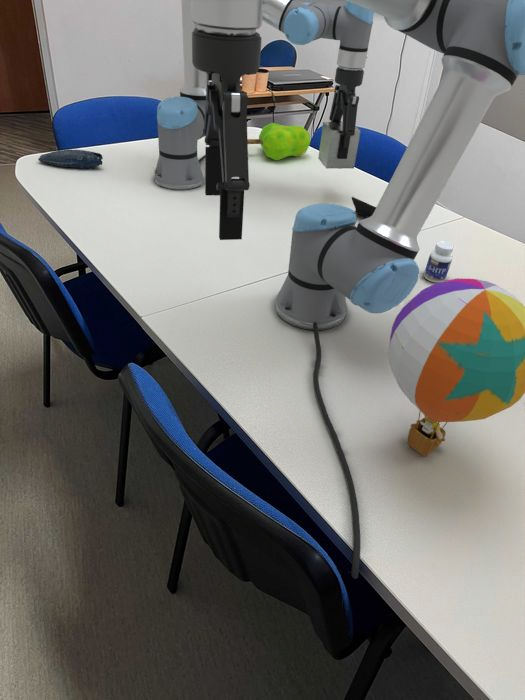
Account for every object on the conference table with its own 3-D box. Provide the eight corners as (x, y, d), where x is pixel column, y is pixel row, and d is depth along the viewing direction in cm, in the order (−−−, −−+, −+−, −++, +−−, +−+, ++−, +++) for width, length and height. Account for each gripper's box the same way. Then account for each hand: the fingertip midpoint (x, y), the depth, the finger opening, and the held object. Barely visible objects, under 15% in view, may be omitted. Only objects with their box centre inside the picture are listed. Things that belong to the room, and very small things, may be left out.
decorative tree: (225, 119, 187) (305, 119, 192) (225, 149, 194) (302, 148, 199) (232, 134, 173) (318, 133, 179) (232, 165, 180) (315, 164, 185)
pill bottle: (422, 279, 126) (432, 247, 121) (424, 270, 130) (434, 238, 125) (444, 285, 125) (455, 252, 120) (446, 275, 129) (457, 243, 124)
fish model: (99, 172, 164) (97, 156, 161) (35, 165, 165) (32, 149, 162) (106, 165, 170) (105, 149, 167) (44, 159, 171) (41, 143, 168)
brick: (354, 168, 153) (360, 130, 147) (326, 168, 152) (331, 130, 145) (345, 158, 160) (351, 122, 153) (318, 158, 158) (323, 121, 151)
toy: (336, 437, 84) (375, 278, 66) (409, 388, 95) (460, 239, 76) (438, 521, 73) (519, 358, 55) (507, 455, 84) (595, 300, 65)
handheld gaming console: (400, 212, 153) (393, 191, 145) (389, 233, 152) (381, 212, 144) (365, 206, 159) (356, 185, 151) (355, 225, 158) (345, 205, 150)
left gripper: (377, 77, 132) (361, 165, 147) (350, 60, 149) (338, 141, 163) (350, 76, 131) (335, 165, 145) (325, 59, 147) (315, 141, 161)
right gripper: (289, 52, 47) (270, 259, 60) (240, 14, 66) (234, 179, 79) (207, 48, 45) (205, 262, 59) (181, 11, 64) (184, 179, 78)
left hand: (337, 153), depth 154 cm, fingers closed on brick, 8 cm apart
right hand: (222, 215), depth 69 cm, fingers open, 13 cm apart
